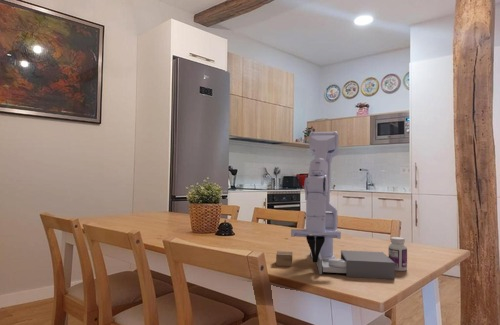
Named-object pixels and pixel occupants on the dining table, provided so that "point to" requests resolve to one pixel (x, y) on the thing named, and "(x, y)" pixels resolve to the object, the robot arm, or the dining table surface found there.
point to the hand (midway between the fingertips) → (315, 261)
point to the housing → (368, 264)
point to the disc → (338, 263)
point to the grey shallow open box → (324, 266)
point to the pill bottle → (398, 253)
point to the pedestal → (283, 258)
